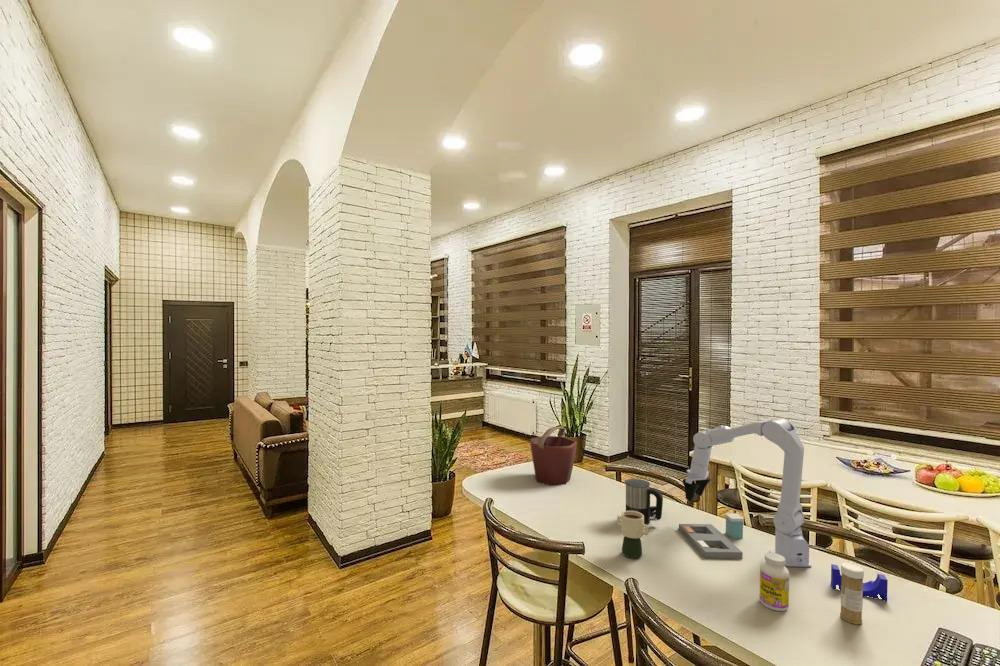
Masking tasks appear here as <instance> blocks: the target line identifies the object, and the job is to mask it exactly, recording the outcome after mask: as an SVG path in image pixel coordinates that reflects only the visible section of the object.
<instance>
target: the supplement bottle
mask: <svg viewBox="0 0 1000 666" xmlns="http://www.w3.org/2000/svg"><path fill="white" fill-rule="evenodd" d="M764 560H765V561H763V562H762V563H760V567H759V569H760V570H759V594H758V595H759V598H758V599H759V602H760V603H761V604H762V605H763V606H764V607H766V608H767V609H770V610H773V611H776V612H784V611H787V610H788V608H789V605H790V603H789V601H790V599H789V598H790V571H789V569H788V568H787V566H786V565H785V558H784V557H783V556H781V555H779V554H776V553H770V552H766V553H765V554H764Z"/></svg>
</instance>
